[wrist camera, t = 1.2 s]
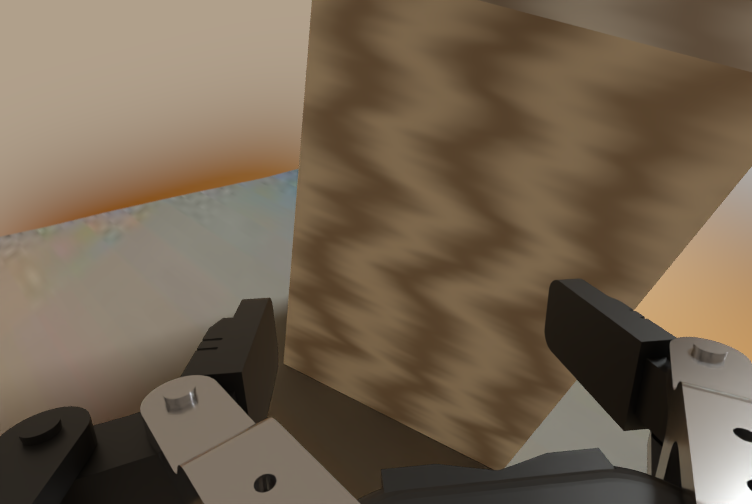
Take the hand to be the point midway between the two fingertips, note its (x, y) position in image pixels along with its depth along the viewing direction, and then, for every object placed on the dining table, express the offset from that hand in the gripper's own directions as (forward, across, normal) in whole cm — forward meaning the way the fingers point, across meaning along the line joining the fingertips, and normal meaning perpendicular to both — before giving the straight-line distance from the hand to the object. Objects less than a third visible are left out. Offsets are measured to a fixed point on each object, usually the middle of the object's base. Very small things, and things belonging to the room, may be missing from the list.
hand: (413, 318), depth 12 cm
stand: (+24, -4, +17) cm, 30 cm away
